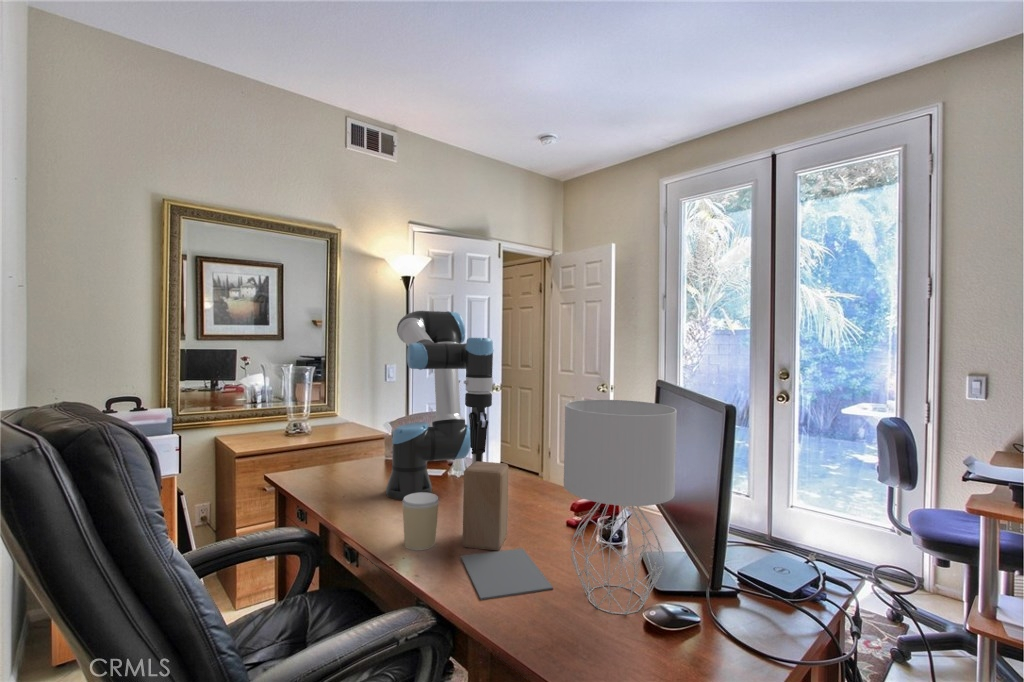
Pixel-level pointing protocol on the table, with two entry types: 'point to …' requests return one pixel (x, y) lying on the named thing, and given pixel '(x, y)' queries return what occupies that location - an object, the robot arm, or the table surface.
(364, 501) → the table surface
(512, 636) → the table surface
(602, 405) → the table lamp
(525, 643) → the table surface
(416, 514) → the coffee cup
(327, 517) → the table surface
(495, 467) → the block
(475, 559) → the mat
